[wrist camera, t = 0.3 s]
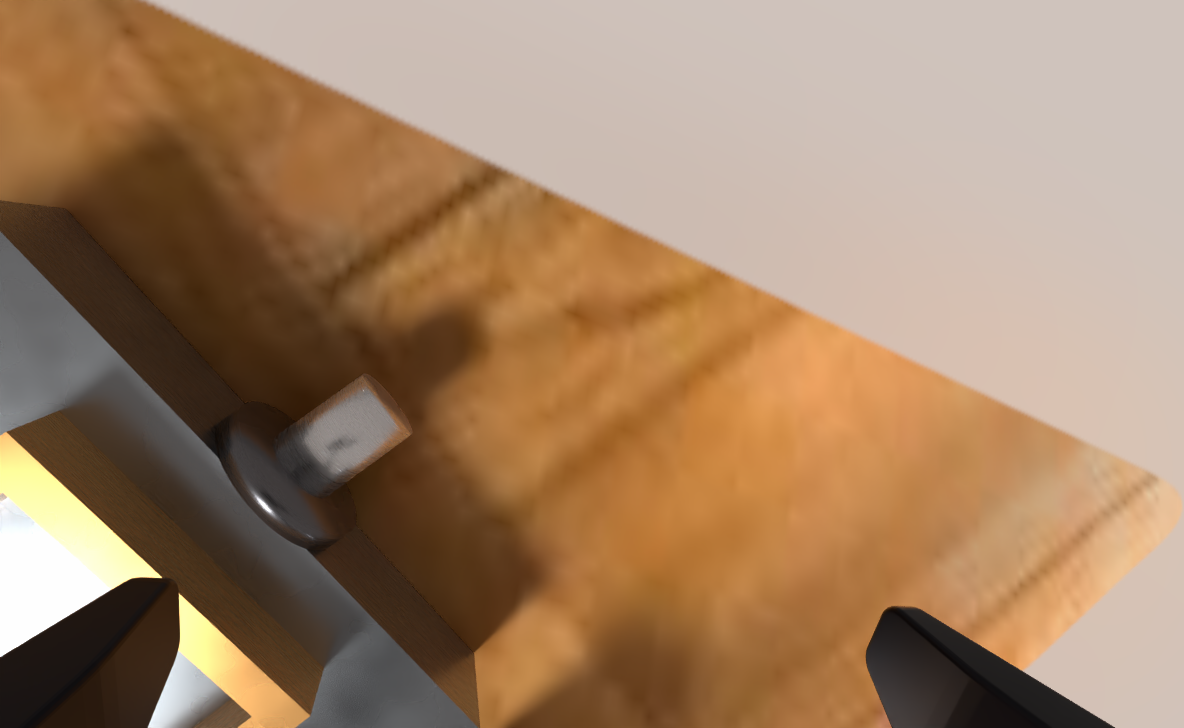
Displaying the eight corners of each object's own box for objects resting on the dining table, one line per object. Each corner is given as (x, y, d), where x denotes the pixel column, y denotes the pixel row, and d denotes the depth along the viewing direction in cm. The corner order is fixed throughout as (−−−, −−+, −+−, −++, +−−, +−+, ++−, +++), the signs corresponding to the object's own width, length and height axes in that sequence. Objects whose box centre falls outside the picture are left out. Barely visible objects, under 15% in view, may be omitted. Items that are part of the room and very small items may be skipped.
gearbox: (163, 890, 23) (62, 1119, 17) (-366, 494, 17) (-799, 621, 11) (556, 584, 24) (593, 691, 18) (185, 135, 19) (65, 78, 13)
